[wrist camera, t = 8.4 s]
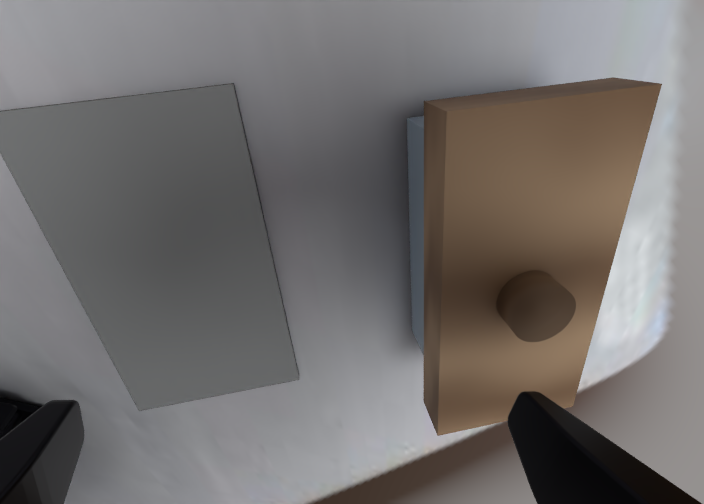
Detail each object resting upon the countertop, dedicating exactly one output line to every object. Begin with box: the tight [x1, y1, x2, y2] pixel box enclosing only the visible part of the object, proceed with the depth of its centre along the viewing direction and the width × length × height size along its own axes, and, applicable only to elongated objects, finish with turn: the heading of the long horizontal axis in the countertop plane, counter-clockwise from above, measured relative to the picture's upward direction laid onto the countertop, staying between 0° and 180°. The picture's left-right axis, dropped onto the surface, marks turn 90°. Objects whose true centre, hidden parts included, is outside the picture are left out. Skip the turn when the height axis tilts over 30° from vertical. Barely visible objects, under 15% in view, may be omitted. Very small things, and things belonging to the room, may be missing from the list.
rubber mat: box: [0, 83, 299, 411], centre depth 19 cm, size 16×9×1 cm, turn 6°
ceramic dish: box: [407, 116, 424, 355], centre depth 19 cm, size 12×6×4 cm, turn 6°
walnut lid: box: [424, 78, 662, 436], centre depth 16 cm, size 14×7×3 cm, turn 5°
